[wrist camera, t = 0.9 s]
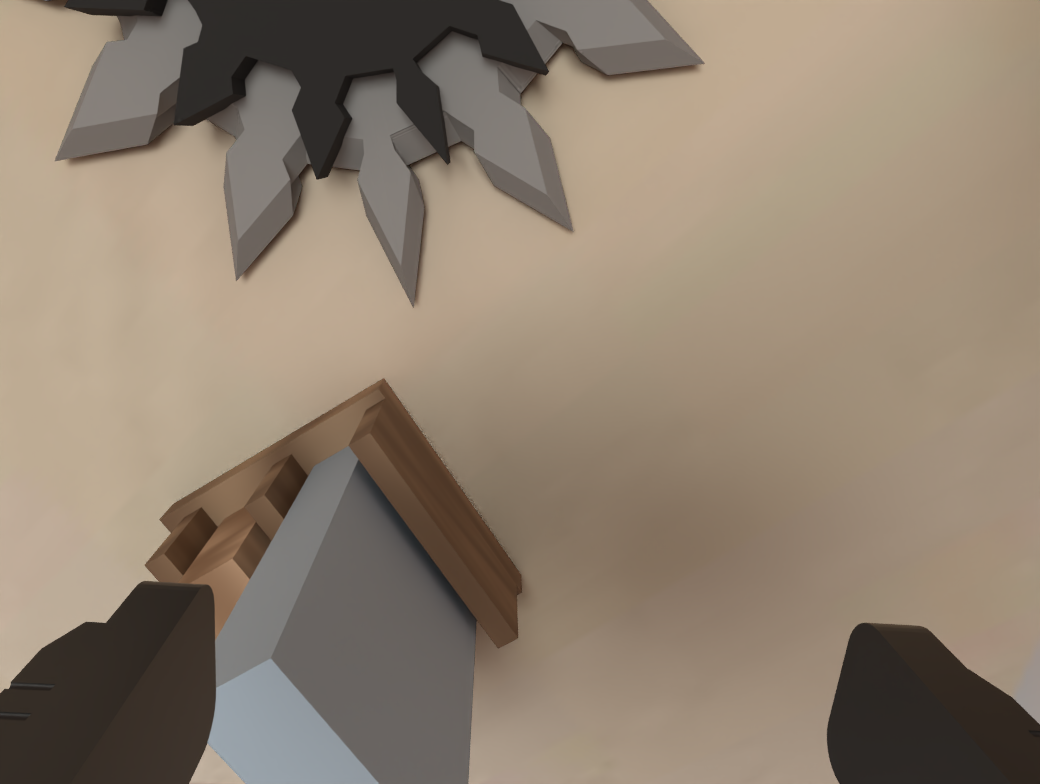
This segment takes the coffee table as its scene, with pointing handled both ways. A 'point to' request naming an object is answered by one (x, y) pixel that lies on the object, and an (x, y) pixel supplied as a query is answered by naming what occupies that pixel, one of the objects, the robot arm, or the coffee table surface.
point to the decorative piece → (354, 95)
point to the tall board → (345, 649)
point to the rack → (399, 474)
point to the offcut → (229, 562)
